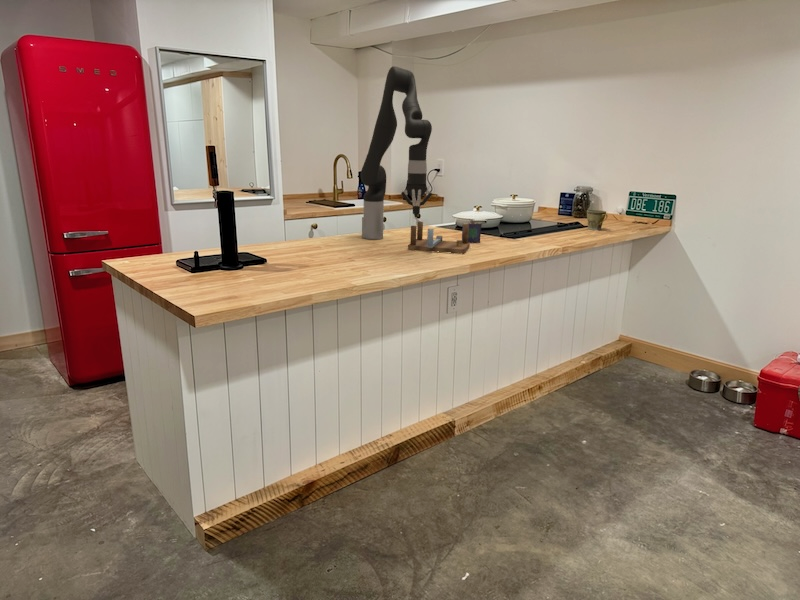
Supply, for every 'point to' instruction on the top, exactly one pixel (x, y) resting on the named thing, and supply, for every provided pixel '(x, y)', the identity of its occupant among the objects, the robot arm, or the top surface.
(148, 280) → the top surface
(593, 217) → the ceramic cup
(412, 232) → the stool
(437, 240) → the cylinder
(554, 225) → the top surface
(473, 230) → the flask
